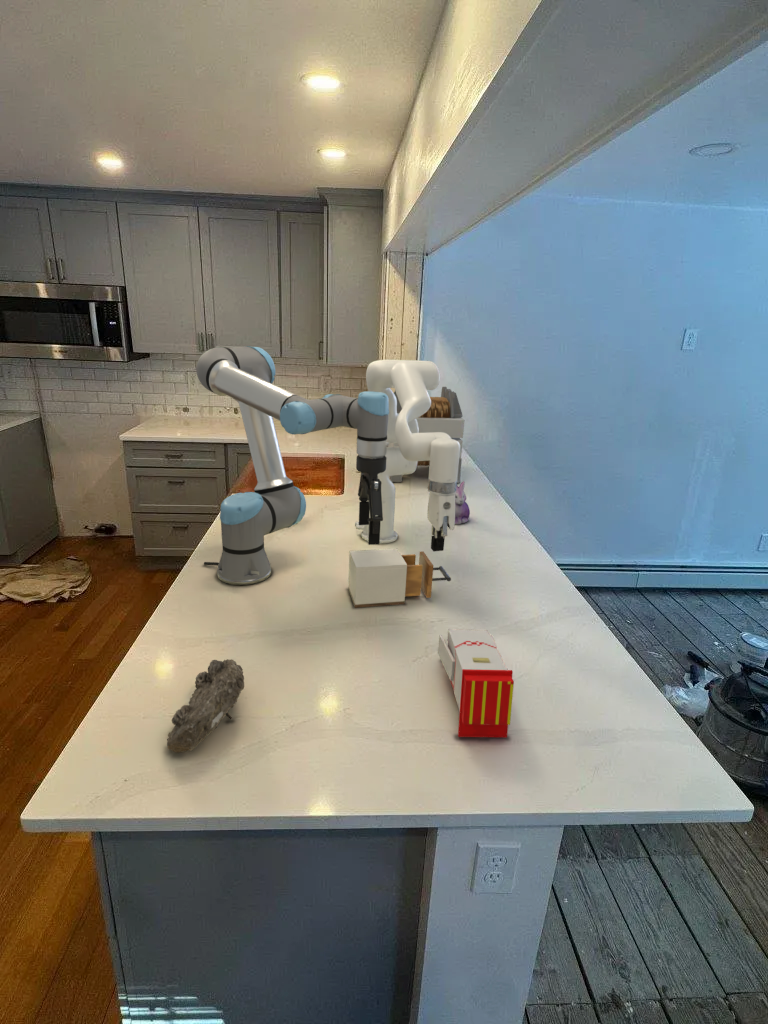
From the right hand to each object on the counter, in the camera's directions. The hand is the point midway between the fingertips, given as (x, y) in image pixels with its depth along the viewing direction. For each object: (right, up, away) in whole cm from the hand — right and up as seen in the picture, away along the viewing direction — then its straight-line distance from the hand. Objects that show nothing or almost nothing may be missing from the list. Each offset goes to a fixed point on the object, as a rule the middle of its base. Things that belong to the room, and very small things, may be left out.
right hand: (437, 549), depth 155 cm
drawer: (-6, -12, +3) cm, 13 cm away
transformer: (+3, +29, +120) cm, 123 cm away
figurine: (+14, +7, +60) cm, 62 cm away
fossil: (-47, -29, -47) cm, 73 cm away
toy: (+3, -27, -36) cm, 46 cm away
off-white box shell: (-17, -13, +1) cm, 21 cm away
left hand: (-19, +5, -6) cm, 20 cm away
